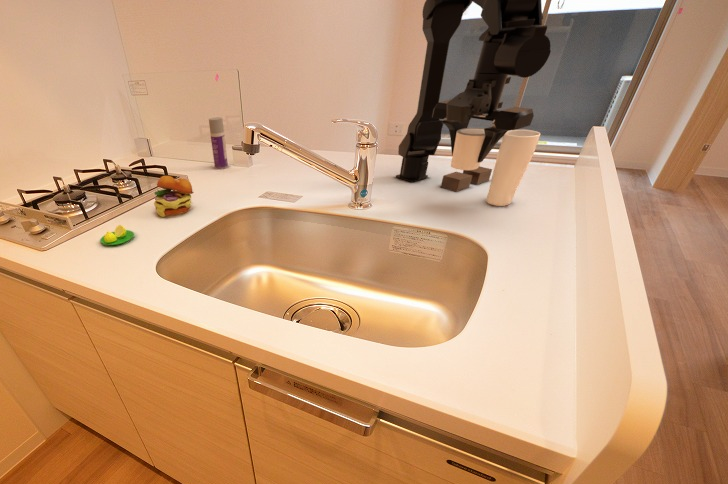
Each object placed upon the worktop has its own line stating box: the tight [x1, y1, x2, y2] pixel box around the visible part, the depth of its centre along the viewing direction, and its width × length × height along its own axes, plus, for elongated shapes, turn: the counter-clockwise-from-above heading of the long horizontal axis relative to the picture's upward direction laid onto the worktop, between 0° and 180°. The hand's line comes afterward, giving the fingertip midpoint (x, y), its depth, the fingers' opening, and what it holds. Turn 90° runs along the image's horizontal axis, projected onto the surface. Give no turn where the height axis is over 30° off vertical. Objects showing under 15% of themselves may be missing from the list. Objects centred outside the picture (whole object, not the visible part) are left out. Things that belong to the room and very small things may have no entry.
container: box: [208, 116, 229, 170], centre depth 124 cm, size 5×5×15 cm
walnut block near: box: [440, 171, 472, 192], centre depth 97 cm, size 5×5×3 cm
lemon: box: [99, 224, 135, 246], centre depth 87 cm, size 8×8×3 cm
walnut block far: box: [462, 165, 493, 186], centre depth 100 cm, size 5×5×3 cm
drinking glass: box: [485, 129, 541, 207], centre depth 83 cm, size 7×7×15 cm
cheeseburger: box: [153, 175, 195, 218], centre depth 98 cm, size 10×11×10 cm
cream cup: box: [450, 127, 485, 171], centre depth 79 cm, size 7×7×7 cm
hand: (466, 158), depth 80 cm, fingers closed on cream cup, 6 cm apart
